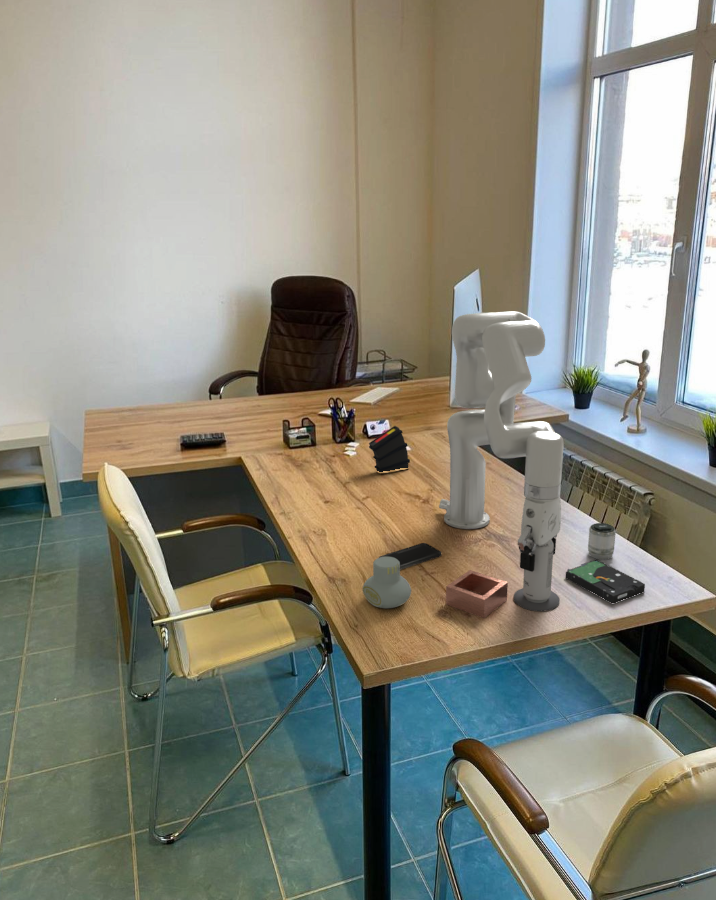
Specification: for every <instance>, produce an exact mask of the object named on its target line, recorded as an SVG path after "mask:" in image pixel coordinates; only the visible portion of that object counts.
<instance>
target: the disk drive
mask: <svg viewBox="0 0 716 900" xmlns="http://www.w3.org/2000/svg"><path fill="white" fill-rule="evenodd" d="M565 579H566V580H568V581H570V582H572V583H573V584H576V585H577V586H579V587H581V588H583V589H584V588H585V589H584V590H586V591H588V590H589V591H588V592H590V591H591V592H593V593H595V594H597V595H598V596H597V595H596V596H597V597H599V596H600V597H602V598H604V599H605V600H604V599H603V600H604V601H606V600H607V601H609V602H611V603H615V604H617V603H616V602H618V601H620V602H622V601H621V600H623V599H626V598H628V599H630V598H629V597H631V598H633V597H632V596H634V595H636V596H638V595H637V594H639V593H642V592H644V593H645V590H646V589H645V588H646V584H645V583H644V582H642V581H640V580H639V579H636V578H634V577H633V576H631V575H628V574H626V573H624V572H622V571H620V570H619V569H616V568H615V567H612V566H610V565H608V564H606V563H604V562H603V561H601V560H600V559H593V560H590V561H588V562H585V563H582V564H580V565H578V566H575V567H572V568H568V569H567V571H565ZM591 592H590V593H591ZM593 593H592V594H593ZM595 594H594V595H595ZM642 594H643V593H642ZM639 595H640V594H639ZM600 597H599V598H600ZM634 597H635V596H634ZM602 598H601V599H602ZM626 600H627V599H626ZM607 601H606V602H607ZM623 601H624V600H623ZM609 602H608V603H609ZM611 603H610V604H611ZM618 603H619V602H618Z"/></svg>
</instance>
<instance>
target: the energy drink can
mask: <svg viewBox="0 0 716 900" xmlns="http://www.w3.org/2000/svg"><path fill="white" fill-rule="evenodd" d="M529 539H530V540H533V538H530V537H529ZM533 541H534V540H533ZM526 546H528V547H529V548H531V546H532V544H530V543H527V545H526ZM553 549H554V543H553V541H552V540H551V539H550V540H549V541H548V542H546V543H545V544H543V545H541V546H539V545H538V544H537V545H536V548H535V551H534V553H533V554H535V566H534V571H533V572H531V571H528V570H525V569H523V585H522V588H523V594H524V596H525V597H526V599H527V600H529V601H531V602H535V603H542V602H545V601H547V599H548V598H549V597H550V595H551V591H552V578H553V577H552V576H553V561H554V555H553Z"/></svg>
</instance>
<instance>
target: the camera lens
mask: <svg viewBox="0 0 716 900" xmlns="http://www.w3.org/2000/svg"><path fill="white" fill-rule="evenodd" d="M616 533H617V531H616V528H615V527H614V526H613V525H611V524H609V523H606V522H597V523H593V524H591V525H590V526H589V528H588V541H587V542H588V544H587V549H588V555H589V556H590V557H591V558H592V559H594V560H596V559H597V560H599V561H601V560H602V561H603V560H611V558H612V557H613V555H614V551H615V545H616Z"/></svg>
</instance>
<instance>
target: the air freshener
mask: <svg viewBox="0 0 716 900" xmlns="http://www.w3.org/2000/svg"><path fill="white" fill-rule="evenodd" d="M379 557H380V556H379ZM379 557H377V558H376V559H375V560H374V561H373V562H372V563H373V565H372V569H373V570H372V574H373V575H371V576H370V577H369V578H367V579H366V580H365V582H364V583H363V586H362V593H363V596H364V598H365V600H367V602H368V603H370V604H371V605H372V606H374V607H377V608H380V609H394V608H397V607H399V606H401V605H404V604H405V603H407V601H408V600H410V597H411V596H412V595H411V594H412V588H411V585H410V583H409V582H408V580H407V579H406V578H404V576H402V575H401V570H400V562H399V561H398V560H397V559H396V558H393V557H380V558H379Z"/></svg>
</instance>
